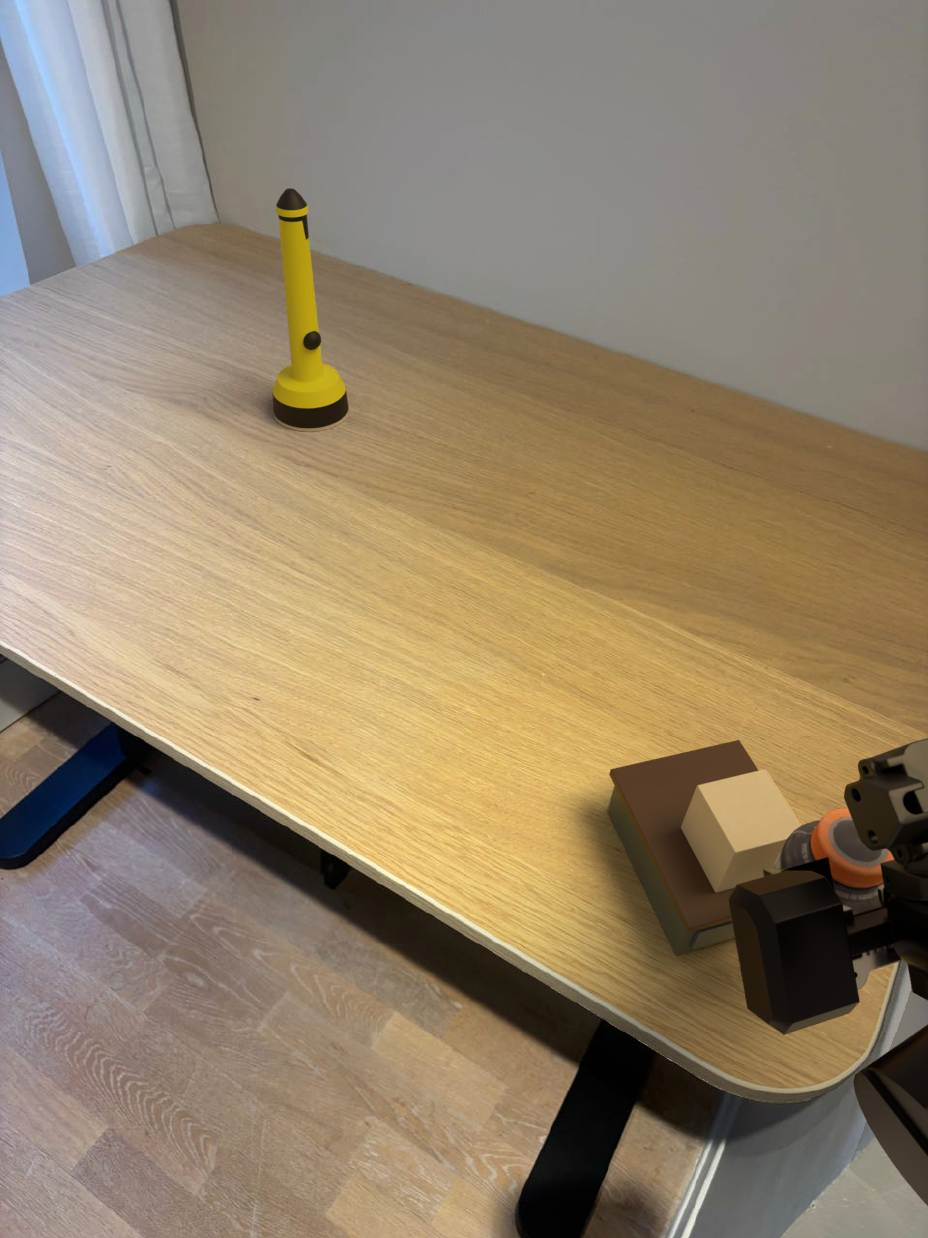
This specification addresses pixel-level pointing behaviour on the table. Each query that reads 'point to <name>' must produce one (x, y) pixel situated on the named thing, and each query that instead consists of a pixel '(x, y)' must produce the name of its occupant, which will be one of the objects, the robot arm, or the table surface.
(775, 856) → the beige cube
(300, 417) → the flashlight
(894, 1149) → the robot arm
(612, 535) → the table surface
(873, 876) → the pill bottle
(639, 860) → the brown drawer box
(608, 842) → the table surface
